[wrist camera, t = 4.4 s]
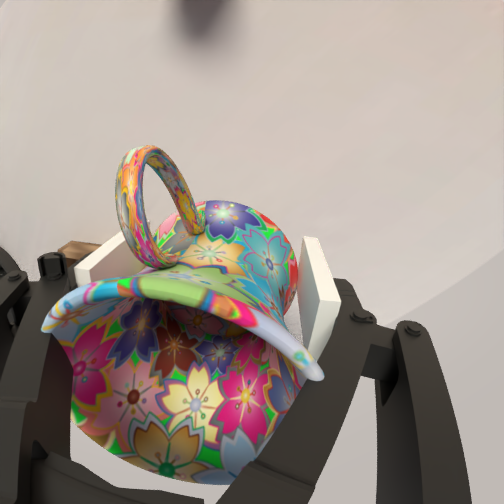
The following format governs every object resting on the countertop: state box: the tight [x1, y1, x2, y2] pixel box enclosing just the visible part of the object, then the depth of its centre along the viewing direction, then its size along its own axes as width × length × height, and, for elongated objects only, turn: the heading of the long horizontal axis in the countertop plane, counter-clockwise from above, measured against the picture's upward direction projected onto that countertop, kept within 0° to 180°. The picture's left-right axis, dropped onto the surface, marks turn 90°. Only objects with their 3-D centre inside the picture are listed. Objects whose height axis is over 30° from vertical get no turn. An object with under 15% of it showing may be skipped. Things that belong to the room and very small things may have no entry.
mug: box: [41, 145, 324, 485], centre depth 12 cm, size 12×9×11 cm
